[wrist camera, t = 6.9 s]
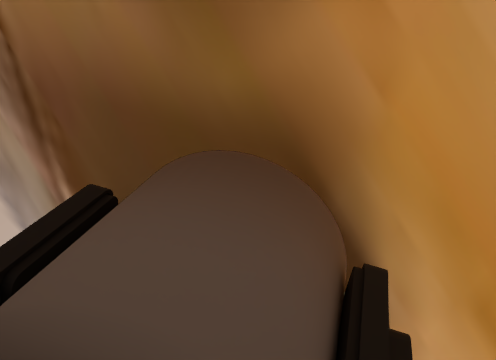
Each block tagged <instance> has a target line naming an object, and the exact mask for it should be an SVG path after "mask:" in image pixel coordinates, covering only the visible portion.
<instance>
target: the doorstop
mask: <svg viewBox="0 0 496 360" xmlns="http://www.w3.org/2000/svg"><path fill="white" fill-rule="evenodd" d="M346 271H347V259H346V250H345V246H344V241H343V237H342V235H341V232H340V230H339V227H338V225H337V223H336V221H335V219H334V217H333V215H332V214H331V212H330V210H329V209H328V207H327V206H326V205H325V204H324V202H323V201H322V200H321V198H320V197H319V196H318V195H317V194H316V193H315V192H314V191H313V190H312V189H311V188H310V187H309V186H308V185H307V184H306V183H304V182H303V181H302V180H301V179H300V178H298V177H297V176H296V175H294V174H293V173H291V172H289V171H288V170H286V169H285V168H283V167H281V166H279V165H277V164H275V163H273V162H271V161H268V160H266V159H263V158H260V157H257V156H254V155H251V154H246V153H241V152H236V151H222V150H216V151H203V152H198V153H193V154H189V155H186V156H184V157H181V158H178V159H176V160H174V161H172V162H170V163H168V164H167V165H165V166H164V167H162V168H161V169H160V170H158V171H157V172H156V173H154V174H153V175H152V176H151V177H150V178H149V179H148V180H146V181H145V182H144V183H143V184H142V185H141V186H139V187H138V188H137V189H136V190H135V191H134V192H132V193H131V194H130V195H129V196H128V197H127V198H125V199H124V200H123V201H122V202H121V203H120V204H118V205H117V206H116V207H115V208H114V209H113V210H111V211H110V212H109V213H108V214H107V215H106V216H105V217H103V218H102V219H101V220H100V221H99V222H98V223H96V224H95V225H94V226H93V227H92V228H91V229H89V230H88V231H87V232H86V233H85V234H84V235H82V236H81V237H80V238H79V239H78V240H77V241H75V242H74V243H73V244H72V245H71V246H70V247H68V248H67V249H66V250H65V251H64V252H63V253H62V254H60V255H59V256H58V257H57V258H56V259H55V260H53V261H52V262H51V263H50V264H49V265H48V266H46V267H45V268H44V269H43V270H42V271H41V272H39V273H38V274H37V275H36V276H35V277H34V278H32V279H31V280H30V281H29V282H28V283H27V284H25V285H24V286H23V287H22V288H21V289H20V290H19V291H17V292H16V293H15V294H14V295H13V296H12V297H10V298H9V299H8V300H7V301H6V302H5V303H3V304H2V305H1V306H0V360H336V356H337V348H338V339H339V331H340V323H341V315H342V306H343V298H344V290H345V282H346Z"/></svg>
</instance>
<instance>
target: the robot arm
mask: <svg viewBox="0 0 496 360" xmlns="http://www.w3.org/2000/svg"><path fill="white" fill-rule="evenodd" d="M117 205H118V199H117V197H115V196H113V192H112V190H110V189H107V188H103V187H100V186H96V185H93V184H89V185H87V186H86V187H84V188H83V189H81V190H80V191H79V192H77V193H76V194H74V195H73V196H72V197H70V198H69V199H67V200H66V201H64V202H63V203H62V204H60V205H59V206H57V207H56V208H55V209H53V210H52V211H50V212H49V213H47V214H46V215H45V216H43V217H42V218H40V219H39V220H38V221H36V222H35V223H33V224H32V225H30V226H29V227H28V228H26V229H25V230H23V231H22V232H20V233H19V234H18V235H16V236H15V237H13V238H12V239H11V240H9V241H8V242H6V243H5V244H3V245H2V246H1V247H0V306H1V305H2V304H3V303H5V302H6V301H7V300H8V299H9V298H10V297H12V296H13V295H14V294H15V293H16V292H17V291H19V290H20V289H21V288H22V287H23V286H24V285H25V284H27V283H28V282H29V281H30V280H31V279H32V278H34V277H35V276H36V275H37V274H38V273H39V272H41V271H42V270H43V269H44V268H45V267H46V266H48V265H49V264H50V263H51V262H52V261H53V260H55V259H56V258H57V257H58V256H59V255H60V254H62V253H63V252H64V251H65V250H66V249H67V248H68V247H70V246H71V245H72V244H73V243H74V242H75V241H77V240H78V239H79V238H80V237H81V236H82V235H84V234H85V233H86V232H87V231H88V230H89V229H91V228H92V227H93V226H94V225H95V224H96V223H98V222H99V221H100V220H101V219H102V218H103V217H105V216H106V215H107V214H108V213H109V212H110V211H111V210H113V209H114V208H115V207H116V206H117ZM336 360H412V347H411V339H410V336H409V335H408V334H405V333H402V332H399V331H396V330H392V329H389V310H388V270H386V269H382V268H379V267H375V266H372V265H369V264H365V263H364V265H363V267H362V269H361V268H357V267H354V268H353V270H352V273H351V276H350V279H349V282H348V285H347V288H346V291H345V294H344V298H343V306H342V315H341V323H340V331H339V339H338V348H337V356H336Z"/></svg>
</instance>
